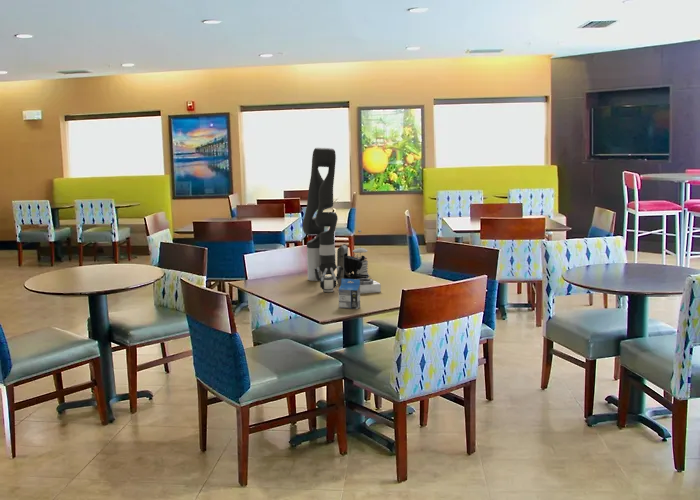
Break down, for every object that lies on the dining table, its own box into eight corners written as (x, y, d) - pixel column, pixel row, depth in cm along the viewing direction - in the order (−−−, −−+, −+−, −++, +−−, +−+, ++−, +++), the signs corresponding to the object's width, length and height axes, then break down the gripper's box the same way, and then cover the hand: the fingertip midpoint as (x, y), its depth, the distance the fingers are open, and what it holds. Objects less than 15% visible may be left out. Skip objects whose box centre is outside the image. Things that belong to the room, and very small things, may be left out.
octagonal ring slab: (344, 291, 343) (344, 279, 342) (374, 288, 347) (374, 277, 346) (349, 294, 334) (349, 283, 334) (380, 292, 338) (380, 280, 338)
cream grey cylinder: (321, 290, 344) (321, 276, 343) (332, 289, 345) (331, 275, 344) (324, 292, 339) (324, 278, 338) (335, 291, 341) (334, 277, 340)
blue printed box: (338, 308, 307) (337, 280, 305) (341, 306, 310) (340, 278, 309) (357, 309, 304) (357, 281, 302) (360, 307, 307) (360, 279, 305)
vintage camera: (366, 286, 355) (367, 247, 352) (336, 285, 358) (337, 246, 355) (369, 283, 364) (370, 245, 361) (340, 281, 367) (341, 243, 364)
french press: (373, 275, 384) (372, 229, 380) (362, 278, 374) (361, 231, 371) (357, 273, 389) (356, 228, 386) (346, 277, 379) (345, 230, 376)
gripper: (339, 251, 345) (340, 285, 348) (311, 253, 341) (312, 287, 344) (343, 253, 338) (344, 288, 340) (314, 255, 334) (315, 290, 337)
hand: (328, 288), depth 342 cm, fingers closed on cream grey cylinder, 5 cm apart
